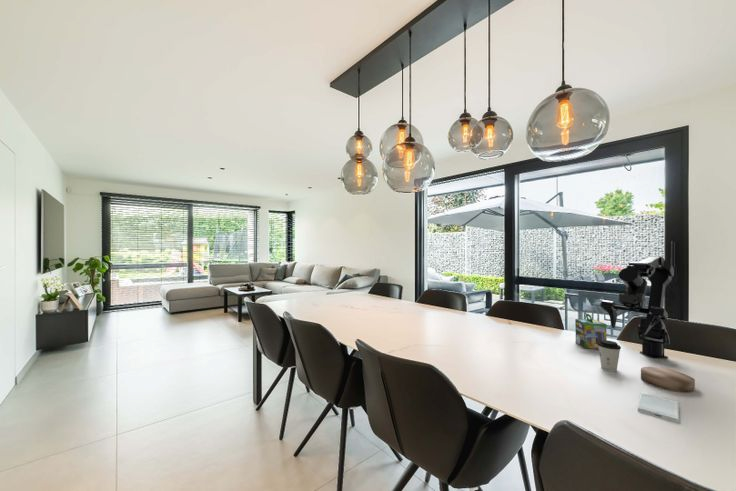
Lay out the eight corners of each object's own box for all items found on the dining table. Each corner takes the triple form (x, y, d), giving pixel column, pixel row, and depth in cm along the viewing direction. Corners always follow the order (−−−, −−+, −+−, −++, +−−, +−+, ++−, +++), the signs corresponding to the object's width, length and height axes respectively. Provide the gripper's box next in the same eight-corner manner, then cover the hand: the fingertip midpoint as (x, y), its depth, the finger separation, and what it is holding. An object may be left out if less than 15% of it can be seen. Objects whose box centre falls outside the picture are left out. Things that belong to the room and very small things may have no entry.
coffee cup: (625, 371, 113) (625, 344, 113) (612, 373, 111) (613, 346, 111) (605, 364, 120) (605, 338, 120) (593, 366, 117) (593, 340, 117)
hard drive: (640, 392, 95) (637, 407, 86) (678, 402, 89) (679, 418, 80) (640, 397, 95) (637, 413, 86) (678, 407, 89) (679, 425, 80)
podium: (666, 375, 110) (666, 366, 110) (707, 392, 97) (707, 383, 97) (630, 374, 110) (630, 366, 110) (666, 392, 97) (666, 382, 97)
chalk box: (607, 350, 136) (607, 316, 136) (584, 348, 138) (584, 315, 138) (596, 343, 145) (596, 312, 145) (574, 342, 147) (574, 311, 147)
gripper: (599, 281, 121) (590, 318, 117) (662, 286, 106) (655, 330, 102) (609, 292, 127) (601, 328, 123) (671, 298, 111) (664, 340, 107)
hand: (628, 331), depth 114 cm, fingers open, 9 cm apart
